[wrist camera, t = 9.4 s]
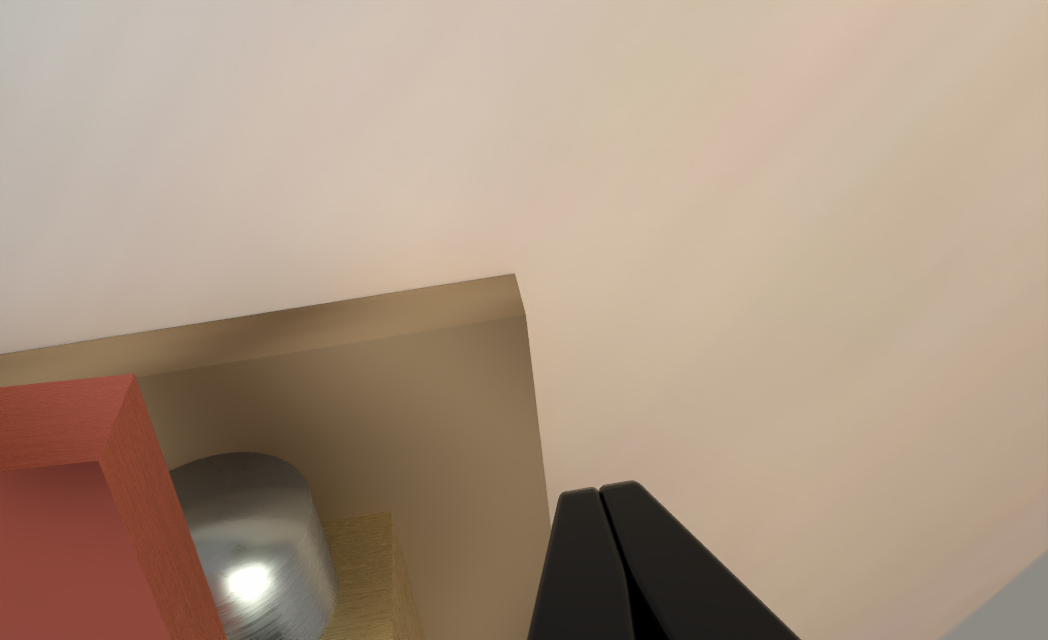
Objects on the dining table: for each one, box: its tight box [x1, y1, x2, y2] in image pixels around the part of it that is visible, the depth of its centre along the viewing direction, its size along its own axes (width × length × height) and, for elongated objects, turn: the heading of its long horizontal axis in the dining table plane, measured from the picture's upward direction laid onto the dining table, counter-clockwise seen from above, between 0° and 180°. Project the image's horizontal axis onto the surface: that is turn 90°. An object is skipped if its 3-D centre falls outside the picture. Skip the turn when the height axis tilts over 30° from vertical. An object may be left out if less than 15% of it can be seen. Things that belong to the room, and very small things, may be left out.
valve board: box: [0, 274, 551, 640], centre depth 19 cm, size 12×14×2 cm
